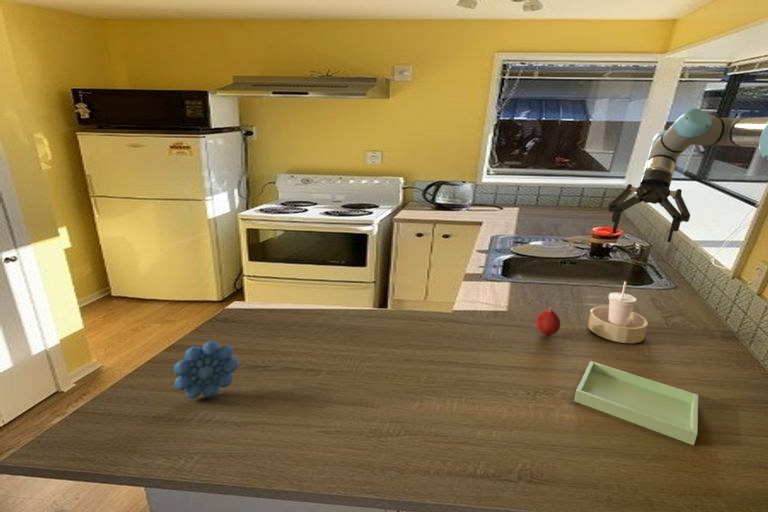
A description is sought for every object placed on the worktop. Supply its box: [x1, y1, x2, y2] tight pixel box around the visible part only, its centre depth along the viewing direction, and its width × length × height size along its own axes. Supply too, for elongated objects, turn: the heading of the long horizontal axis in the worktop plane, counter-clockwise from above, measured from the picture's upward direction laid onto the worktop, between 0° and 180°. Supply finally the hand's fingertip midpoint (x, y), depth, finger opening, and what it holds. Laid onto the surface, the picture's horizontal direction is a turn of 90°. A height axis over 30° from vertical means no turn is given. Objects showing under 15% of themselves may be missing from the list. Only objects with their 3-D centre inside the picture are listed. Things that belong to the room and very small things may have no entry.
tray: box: [573, 360, 699, 446], centre depth 83 cm, size 20×14×2 cm
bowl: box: [587, 305, 649, 344], centre depth 112 cm, size 13×13×4 cm
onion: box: [535, 307, 561, 338], centre depth 108 cm, size 6×6×8 cm
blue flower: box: [173, 340, 239, 400], centre depth 81 cm, size 12×7×12 cm, turn 106°
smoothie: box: [607, 281, 638, 327], centre depth 110 cm, size 6×6×14 cm
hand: (640, 235), depth 119 cm, fingers open, 13 cm apart
